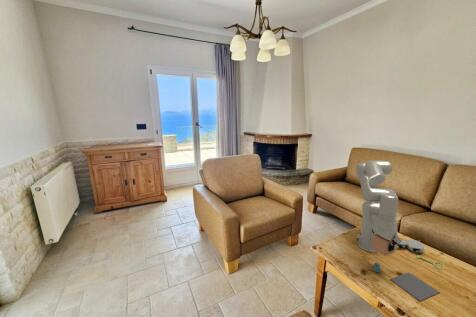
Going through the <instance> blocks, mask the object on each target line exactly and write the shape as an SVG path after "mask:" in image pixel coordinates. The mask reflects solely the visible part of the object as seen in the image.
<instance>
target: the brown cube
mask: <svg viewBox="0 0 476 317" xmlns="http://www.w3.org/2000/svg"><path fill="white" fill-rule="evenodd" d="M395 241H396V239H395ZM392 242H393V240H392ZM389 244H390V242H389V240H387V239H385V238H383V237H381V236H379V235H378V234H374V235H373V239H372V248H373V249H374V250H376V251H378V252H377V253H379V254H380V255H382V256H384V257H386V256H388V255H392V254H395V253H396V244H395V247H394V250H393V251H390V252H389V251H388V248H389Z"/></svg>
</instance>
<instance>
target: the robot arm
mask: <svg viewBox="0 0 476 317" xmlns="http://www.w3.org/2000/svg"><path fill="white" fill-rule="evenodd" d="M392 172H393V165H392V163H391V162H390V161H388V160H376V159H375V160H373V159H371V160H368V161H367V162H359V163H356V165H355V174H356V177H357V179H358V180H359V183H360V187H361V193H362V194H361V195H362V198H363V200H364V201H363V202H362V206H361V208H362V210H361V211H362V212H361V213H362V221H361V222H362V224H361V231H360V233H358V234H357V235H356V237H355V238H357V239H358V241H357V246H358V247H359V248H360V249H362V250H363V251H365V252H368V253H379V252H378V251H376V250H374V249H373V248H372V239H373V235H374V234H378V235H379V236H381V237H383V238H385V239H387V240H389V242H390V244H389V248H388V251H389V252H390V251H393V250H394V247H395V244H399V243H401V242H402V241H401V240H402V239H401V238H400V237H399V236H398V222H397V212H398V205H399V197H398V195H397V193H396V191H395V190H394V189H390V188H386V187H377V186H378V185H381V184H383V183H384V182H385V181H386V175H391V173H392ZM395 239H396V240H397V241H395ZM392 240H393V242H392ZM395 248H396V247H395Z"/></svg>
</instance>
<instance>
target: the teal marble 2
mask: <svg viewBox="0 0 476 317" xmlns="http://www.w3.org/2000/svg"><path fill="white" fill-rule="evenodd" d="M373 267H374V266H373ZM374 271H375V272H376V273H381V267H380V268H379V267H377V266H376V267H374Z"/></svg>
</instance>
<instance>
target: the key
mask: <svg viewBox="0 0 476 317" xmlns="http://www.w3.org/2000/svg"><path fill="white" fill-rule="evenodd" d="M416 258H417V259H421V260H423V261H425V262H427V263H429V264H431V265H432V267H433V268H434V269H436V270H440V271H443V270H445V268H446V266H445V264H443V262H440V261H439V260H438V261H437V260H436V261H433V260H430V259H427V258H425V257H424V256H422V255H419V254H417V255H416ZM436 264H439V265H440V266H441V268H440V267H438V266H436Z"/></svg>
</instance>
